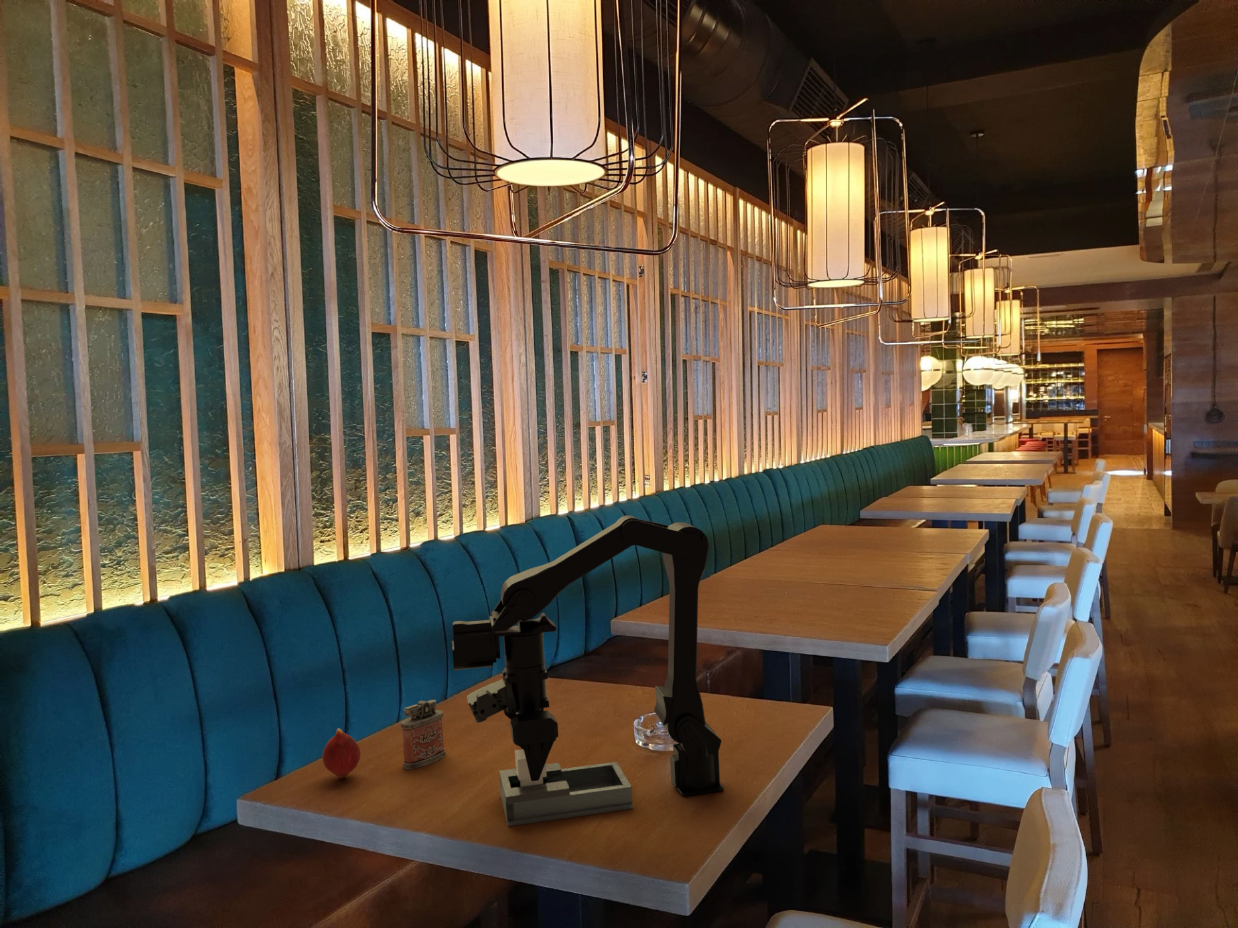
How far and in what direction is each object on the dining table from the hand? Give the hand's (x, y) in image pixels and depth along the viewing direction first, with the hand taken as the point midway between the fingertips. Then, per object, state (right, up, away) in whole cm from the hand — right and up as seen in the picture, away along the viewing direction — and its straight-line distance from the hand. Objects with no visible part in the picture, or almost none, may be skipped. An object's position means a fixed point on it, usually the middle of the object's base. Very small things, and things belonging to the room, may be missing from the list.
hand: (530, 768), depth 135 cm
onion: (-32, -7, +15) cm, 36 cm away
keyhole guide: (+5, -5, +1) cm, 7 cm away
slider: (0, -5, 0) cm, 5 cm away
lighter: (-20, -6, +20) cm, 29 cm away
